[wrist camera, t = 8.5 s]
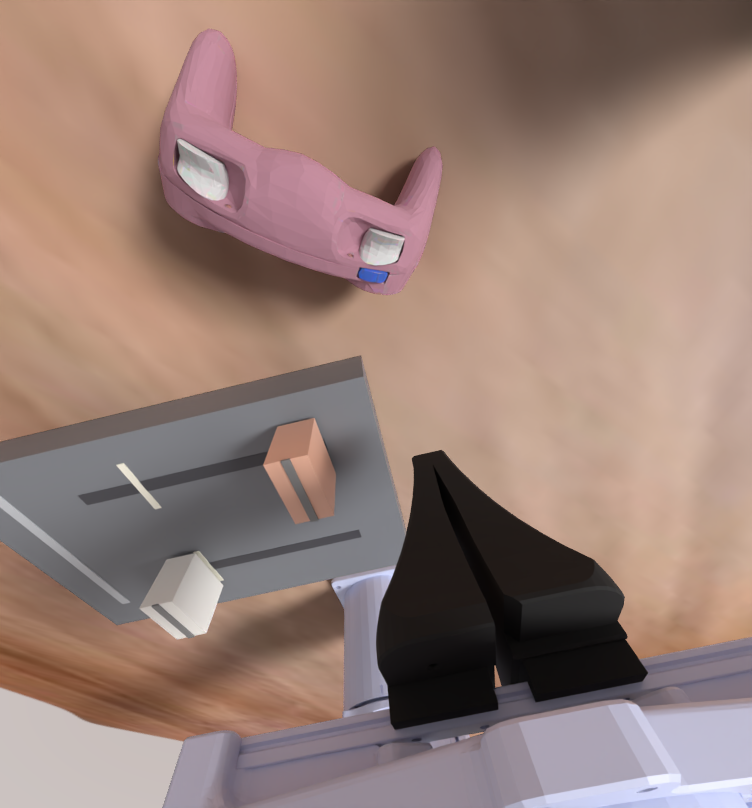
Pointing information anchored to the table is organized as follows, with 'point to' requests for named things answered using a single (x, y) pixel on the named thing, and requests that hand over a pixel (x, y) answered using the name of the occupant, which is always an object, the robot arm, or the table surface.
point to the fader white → (183, 597)
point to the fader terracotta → (302, 471)
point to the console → (201, 492)
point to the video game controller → (284, 186)
